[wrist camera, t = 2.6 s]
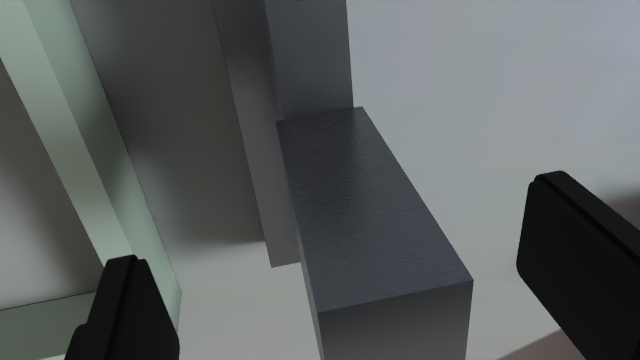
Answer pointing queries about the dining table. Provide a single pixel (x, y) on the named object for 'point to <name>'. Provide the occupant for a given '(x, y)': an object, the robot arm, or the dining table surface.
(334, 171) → the rake
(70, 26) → the sage pen
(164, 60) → the dining table surface
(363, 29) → the dining table surface
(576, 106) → the dining table surface
